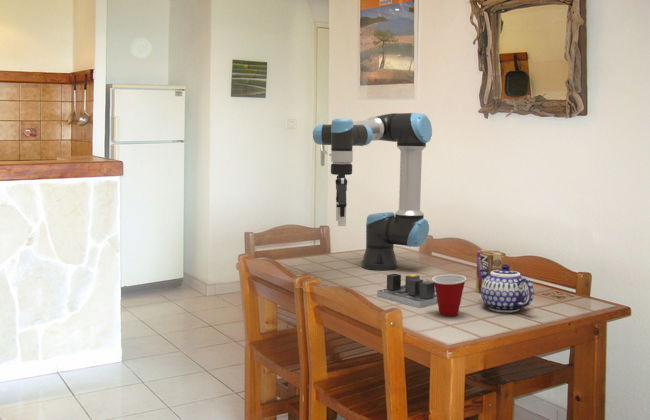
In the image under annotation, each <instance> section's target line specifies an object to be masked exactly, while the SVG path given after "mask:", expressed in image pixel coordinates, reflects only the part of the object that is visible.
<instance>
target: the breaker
mask: <svg viewBox="0 0 650 420" xmlns="http://www.w3.org/2000/svg"><path fill="white" fill-rule="evenodd" d="M412 279H420V275H418V274H414V273H413V274H412V273H411V274H407V275H405V283H404V284H405V290H408V291H409V280H412Z"/></svg>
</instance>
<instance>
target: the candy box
mask: <svg viewBox="0 0 650 420" xmlns="http://www.w3.org/2000/svg"><path fill="white" fill-rule="evenodd" d="M476 254H477V257H476V258H477V259H476V278H475V279H476V280H475V281H476V282H475V292H477V293H479V294H481V287H482V274H481V272H480V270H479V269H487V271H488V274H490V273H491V271H494V270H500V269H502V257H503V256H502V255H503V254H502V253H500V252H495V251H491V250H487V249H481V250H480V249H479V250H477V253H476Z"/></svg>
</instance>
